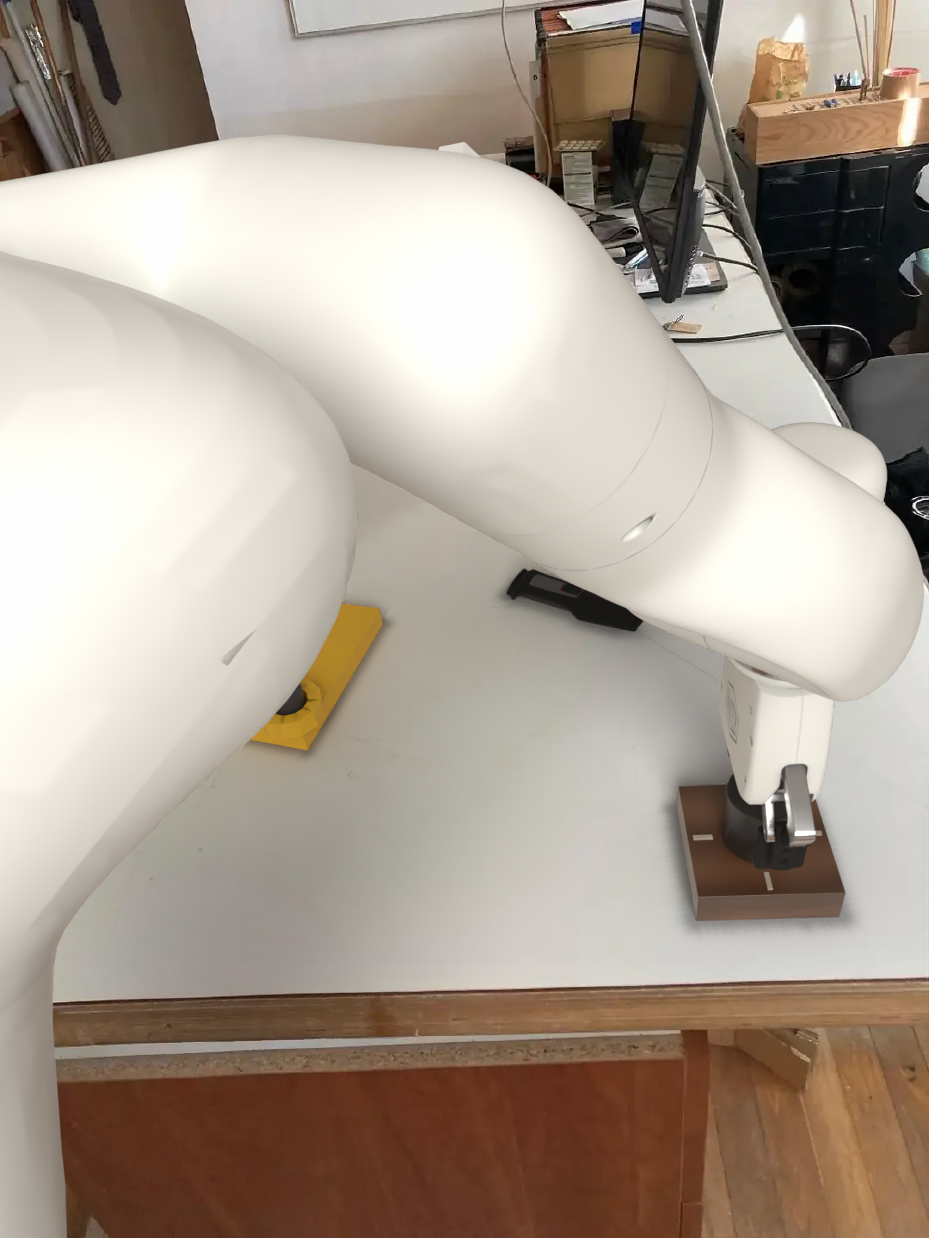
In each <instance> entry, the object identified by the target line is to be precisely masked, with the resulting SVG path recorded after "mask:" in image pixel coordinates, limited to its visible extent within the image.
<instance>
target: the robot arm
mask: <svg viewBox="0 0 929 1238" xmlns="http://www.w3.org/2000/svg"><path fill="white" fill-rule="evenodd" d="M353 465H355V466H357V467H359V468H360V469H363V470H365V471H368V472H369V473H371V474H373V475H375V476H377V477H379V478H381V479H383V480H385V481H387V482H388V483H391V484H393V485H395V486H397V487H398V488H400V489H403V490H404V491H406V492H408V493H410V494H412V495H413V496H415V497H417V498H419V499H421V500H422V501H424V502H426V503H427V504H429V505H431V506H433V507H435V508H436V509H438V510H439V511H442V512H444V513H445V514H447V515H448V516H451V517H452V518H454V519H456V520H458V521H459V522H461V523H463V524H465V525H467V526H468V527H470V528H473V529H475V530H477V531H478V532H480V533H482V534H483V535H485V536H488V537H489V538H490V539H492V540H494V541H496V542H497V543H500V544H501V545H503V546H504V547H506V548H508V549H510V550H512V551H514V552H515V553H517V554H519V555H521V556H523V557H524V558H526V559H527V560H529V561H531V562H532V563H534V564H536V565H537V566H540V567H541V568H543V569H544V570H546V571H548V572H550V573H551V574H552V575H555V576H556V577H557V578H559V579H562V580H564V581H567V582H569V583H571V584H574V585H576V586H578V587H580V588H582V589H585V590H587V591H590V592H592V593H594V594H596V595H598V596H600V597H602V598H604V599H606V600H609V601H611V602H613V603H616V604H618V605H620V606H623V607H625V608H627V609H628V610H629V611H630V612H631V613H632V614H634V615H635V616H637V617H638V618H640V619H642V620H644V621H643V622H645V623H647V624H650V625H652V626H654V627H656V628H658V629H660V630H662V631H665V632H667V633H670V634H672V635H675V636H677V637H679V638H681V639H684V640H685V641H689V642H691V643H693V644H695V645H698V646H701V647H703V648H705V649H708V650H710V651H713V652H717V653H719V654H722V655H724V660H723V666H722V673H721V679H720V687H719V694H718V709H719V716H720V720H721V721H720V722H721V726H722V730H723V735H724V738H725V739H724V740H725V743H726V748H727V750H726V752H727V755H728V758H729V761H730V763H731V768H732V773H733V774H734V776H735V780H736V784H737V788H738V791H739V793H740V795H741V797H742V798H743V800H744V801H745V802H747V803H748V804H750V805H753V804H761V805H762V817H763V825H762V826H760V827H758V828H757V836H756V843H755V850H754V857H753V862H754V866H755V868H756V869H773V870H778V871H781V870H790V869H792V868H799V867H802V866H803V864H804V860H805V855H806V850H807V846H811V843H812V842H814V841H815V839H816V832H815V826H814V820H813V814H812V807H811V802H812V801H814V800H815V799H816V800H817V798H818V796H819V795H820V793H821V790H822V787H823V784H824V782H825V777H826V773H827V767H828V761H829V755H830V748H831V740H832V733H833V732H832V731H833V723H834V712H835V702H840V703H847V702H852V701H857V700H859V699H862V698H864V697H867V696H869V695H871V694H872V693H874V692H875V691H877V690H878V689H880V688H881V687H882V686H883V685H884V684H886V682H888V681H889V680H890V679H891V678H892V677H893V675H895V673H896V672H897V671H898V669H899V668H900V667H901V665H902V664H903V662H904V661H905V659H906V658H907V656H908V654H909V652H910V650H911V648H913V647H912V646H913V644H914V642H915V640H916V637H917V635H918V632H919V629H920V625H921V621H922V616H923V610H924V600H925V599H924V598H925V588H924V587H925V586H924V575H923V568H922V563H921V561H920V557H919V555H918V551H917V549H916V546H915V544H914V541H913V539H912V537H911V535H910V533H909V531H908V529H907V527H906V526H905V524H904V523H903V522H902V520H901V519H900V517H899V516H898V515H897V514H896V513H894V512H893V510H892V509H890V508H889V507H888V506H887V505H886V504H884V499H885V494H886V490H887V489H886V488H887V482H888V469H887V464H886V462H885V459H884V456H883V454H882V452H881V451H880V449H879V448H878V446H876V444H875V443H874V442H873V441H871V440H870V439H869V438H867V437H865V436H864V435H863V434H861V433H859V432H858V431H855V430H854V429H850V428H849V427H845V426H842V425H838V424H832V423H825V422H813V421H811V422H795V423H788V424H783V425H779V426H777V427H773V428H771V429H770V428H769V427H767V426H766V425H764V424H762V423H761V422H759V421H758V420H757V419H754V418H753V417H751V416H750V415H747V414H746V413H744V412H743V411H742V410H739V409H737V408H736V407H734V406H732V405H730V404H728V403H727V402H725V401H723V400H722V399H720V398H718V397H717V396H715V395H714V394H713V393H712V391H710V389H709V388H708V387H707V386H706V384H705V383H704V382H703V380H702V378H701V377H700V376H699V374H698V373H697V372H696V370H695V368H693V366H692V365H691V364H690V362H689V360H687V358H686V357H685V355H684V354H683V353H682V351H681V350H680V349H679V347H678V346H677V345H676V343H675V342H674V341H673V339H672V338H671V336H670V335H669V334H668V332H667V331H666V330H665V328H664V327H663V326H662V324H661V323H660V321H659V320H658V318H656V316H655V315H654V313H653V312H652V311H651V308H649V306H648V305H647V303H646V302H645V301H644V300H643V298H642V297H641V296H640V294H639V293H638V292H637V290H636V289H635V287H634V286H633V285H632V283H631V282H630V281H629V279H628V278H627V277H626V276H625V274H624V273H623V271H622V270H621V268H620V267H619V265H617V263H616V262H615V260H614V259H613V258H612V256H611V255H610V254H609V252H608V251H607V250H606V248H605V247H604V246H603V244H602V243H601V241H600V240H599V238H597V237H596V235H595V234H594V233H593V231H591V229H590V228H589V227H588V225H587V224H586V223H585V222H584V220H583V219H582V218H581V216H580V215H579V214H578V212H576V211H575V210H574V209H573V208H572V207H571V206H570V205H569V204H568V203H566V201H565V200H564V199H562V197H560V196H559V195H558V194H557V193H556V192H555V191H554V190H553V189H551V187H548V186H547V185H545V184H544V183H542V182H540V181H539V180H537V179H536V178H534V177H533V176H531V175H529V174H528V173H526V172H524V171H521V170H519V169H517V168H515V167H512V166H509V165H507V164H505V163H502V162H499V161H497V160H494V159H489V158H485V157H481V156H480V157H476V156H472V155H468V154H463V153H457V152H449V151H440V150H439V149H432V148H422V147H421V148H420V147H410V146H399V145H388V144H378V143H369V142H357V141H349V140H340V139H332V138H323V137H322V138H321V137H313V136H303V135H294V134H293V135H291V134H265V135H264V134H261V135H253V136H239V137H230V138H225V139H218V140H213V141H208V142H202V143H201V142H200V143H196V144H190V145H186V146H185V145H184V146H180V147H176V148H170V149H165V150H161V151H155V152H150V153H145V154H141V155H135V156H130V157H125V158H121V159H115V160H110V161H105V162H100V163H94V164H89V165H84V166H78V167H73V168H67V169H62V170H57V171H52V172H47V173H42V174H35V175H31V176H24V177H20V178H13V179H7V180H2V181H0V1238H68V1235H67V1234H68V1230H67V1229H68V1227H67V1194H66V1193H67V1192H66V1179H65V1167H64V1159H63V1148H62V1136H61V1135H62V1133H61V1122H60V1121H61V1119H60V1107H59V1105H60V1104H59V1093H58V1092H59V1091H58V1078H57V1076H58V1075H57V1064H56V1062H57V1061H56V1051H55V1049H56V1048H55V1035H54V1021H53V1020H54V1019H53V1016H54V1014H53V1013H54V977H55V964H56V959H57V958H56V957H57V952H58V951H57V950H58V946H59V943H60V941H61V939H62V937H63V934H64V932H65V930H66V929H67V927H68V926H69V924H70V923H71V922H72V921H73V919H74V917H75V916H76V914H77V913H78V912H79V910H80V909H81V908H82V907H83V905H84V904H85V902H86V901H88V899H89V898H90V896H92V895H93V894H94V892H95V891H96V890H97V889H98V888H99V887H100V886H101V885H102V883H103V882H104V881H105V880H106V879H107V878H108V877H109V876H110V875H111V874H112V873H113V871H114V870H115V869H116V868H117V867H118V866H119V865H120V863H122V861H124V860H125V858H126V857H127V856H128V855H129V854H130V853H131V852H132V851H133V850H134V849H135V848H136V847H137V846H138V845H139V844H141V842H142V841H143V840H144V839H145V838H146V837H147V836H148V835H149V834H150V833H152V831H153V830H154V829H155V828H156V827H158V826H159V825H160V824H161V823H162V822H163V821H164V820H165V819H166V818H167V817H168V816H169V815H170V814H172V812H173V811H174V810H175V809H176V808H177V807H178V806H180V805H181V803H183V802H184V801H185V800H186V799H187V798H188V797H189V796H191V794H192V793H194V792H195V791H196V790H197V789H198V788H199V787H201V785H202V784H204V783H205V782H206V781H207V780H208V779H209V778H210V777H211V776H213V774H215V773H216V772H217V771H218V770H219V769H220V768H221V767H222V766H223V765H224V764H225V763H227V761H229V760H230V759H231V758H232V757H233V756H235V754H237V753H238V752H239V751H240V750H241V749H243V747H244V746H246V744H248V743H249V742H250V741H251V740H250V739H251V738H252V737H253V736H254V735H255V734H256V733H257V732H258V731H259V730H261V729H262V728H263V727H264V726H265V725H266V724H267V723H268V721H269V720H270V719H271V718H272V717H273V716H274V715H275V713H276V712H277V711H278V710H279V709H280V708H281V707H282V706H283V704H284V703H285V702H286V701H287V700H288V699H289V697H290V696H291V695H292V693H293V692H294V690H295V689H296V688H297V686H298V685H299V683H300V682H301V681H302V679H303V678H304V676H305V675H306V674H307V672H308V671H309V669H310V667H311V666H312V664H313V663H314V661H315V660H316V658H317V656H318V654H319V652H320V650H321V648H322V646H323V644H324V642H325V641H326V639H327V637H328V635H329V633H330V631H331V629H332V627H333V625H334V623H335V621H336V619H337V616H338V613H339V610H340V607H341V604H342V603H343V601H344V598H345V594H346V591H347V588H348V584H349V582H350V578H351V575H352V572H353V567H354V564H355V557H356V547H357V535H358V525H359V515H360V513H359V506H358V498H357V491H356V484H355V483H356V482H355V476H354V469H353ZM780 779H782V782H783V790H777V789H778V788H779V786H780ZM775 802H786V808H787V815H788V821H775V818H774V803H775Z"/></svg>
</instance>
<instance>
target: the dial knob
mask: <svg viewBox="0 0 929 1238" xmlns="http://www.w3.org/2000/svg"><path fill="white" fill-rule="evenodd" d="M726 784H727V786H726V795H725V804H724V814H723V823H722V837H723V840H724V843H725V844H726V846H727V847H728V849H729V850H730V851H731V852H732V853H733V854H735V855H736V856H737V857H739V858H741V859H743V860H745V861H748V862H751V863H754V862H753V857H754V850H755V843H756V836H757V828H758V827H760V826H762V825H763V817H762V805H761V804H753V805H750V804H748V803H747V802H745V801H744V800H743V798H742V797H741V795H740V793H739V791H738V788H737V784H736V780H735V776H734V773H732V774H731V775H730V777H729V779H728V780H727V783H726ZM777 790H783V782H782V779H780V786H779V788H778V789H777ZM774 818H775V821H788V815H787V808H786V802H775V803H774Z"/></svg>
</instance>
